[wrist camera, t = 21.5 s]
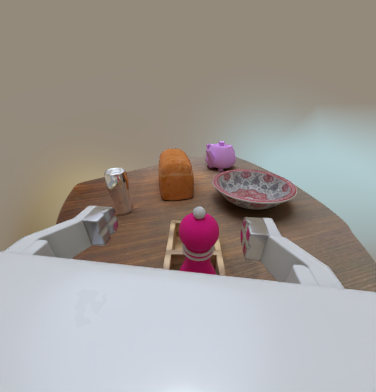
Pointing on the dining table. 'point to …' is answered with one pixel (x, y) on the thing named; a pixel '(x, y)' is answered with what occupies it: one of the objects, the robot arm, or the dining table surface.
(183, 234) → the pepper mill
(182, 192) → the bread
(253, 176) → the ceramic bowl
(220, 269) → the divided wooden box
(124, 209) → the metal cup
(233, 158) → the teapot
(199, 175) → the dining table surface
